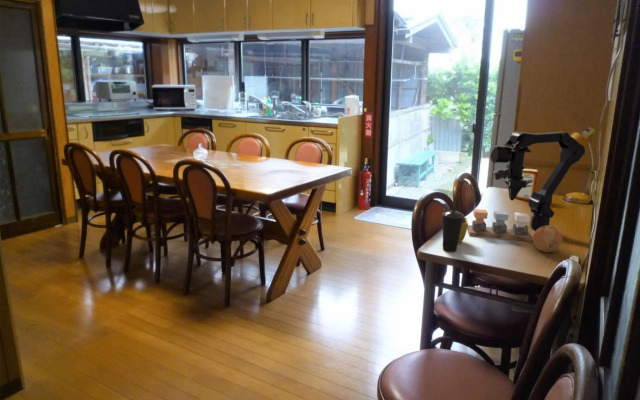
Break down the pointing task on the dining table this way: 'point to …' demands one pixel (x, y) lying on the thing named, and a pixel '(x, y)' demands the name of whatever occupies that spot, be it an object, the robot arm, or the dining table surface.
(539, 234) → the onion
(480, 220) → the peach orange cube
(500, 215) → the slate button
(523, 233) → the walnut button board
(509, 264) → the dining table surface
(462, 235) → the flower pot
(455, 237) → the drinking cup
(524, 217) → the cream button
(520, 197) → the baking soda box
